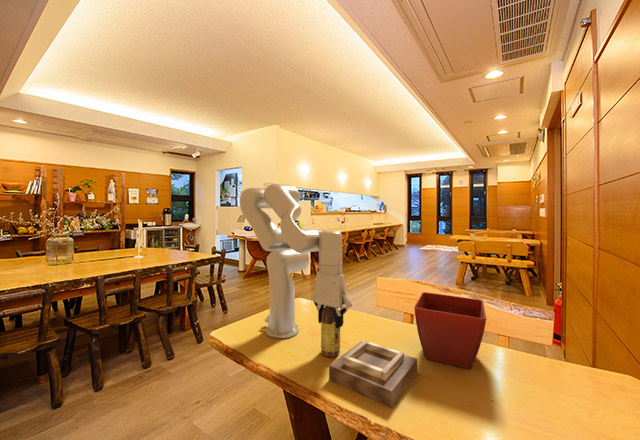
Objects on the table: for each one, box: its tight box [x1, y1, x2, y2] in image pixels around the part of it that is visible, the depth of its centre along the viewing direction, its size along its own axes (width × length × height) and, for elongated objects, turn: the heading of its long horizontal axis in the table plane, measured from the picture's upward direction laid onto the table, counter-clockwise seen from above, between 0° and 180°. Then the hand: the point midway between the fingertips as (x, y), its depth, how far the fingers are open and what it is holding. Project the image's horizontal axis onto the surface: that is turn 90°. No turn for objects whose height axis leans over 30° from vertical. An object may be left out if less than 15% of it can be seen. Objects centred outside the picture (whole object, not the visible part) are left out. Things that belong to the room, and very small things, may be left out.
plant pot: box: [413, 291, 487, 370], centre depth 89 cm, size 19×19×17 cm
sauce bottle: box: [320, 306, 341, 358], centre depth 90 cm, size 7×6×20 cm
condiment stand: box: [328, 340, 418, 409], centre depth 78 cm, size 18×18×6 cm
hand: (330, 323), depth 90 cm, fingers closed on sauce bottle, 6 cm apart
